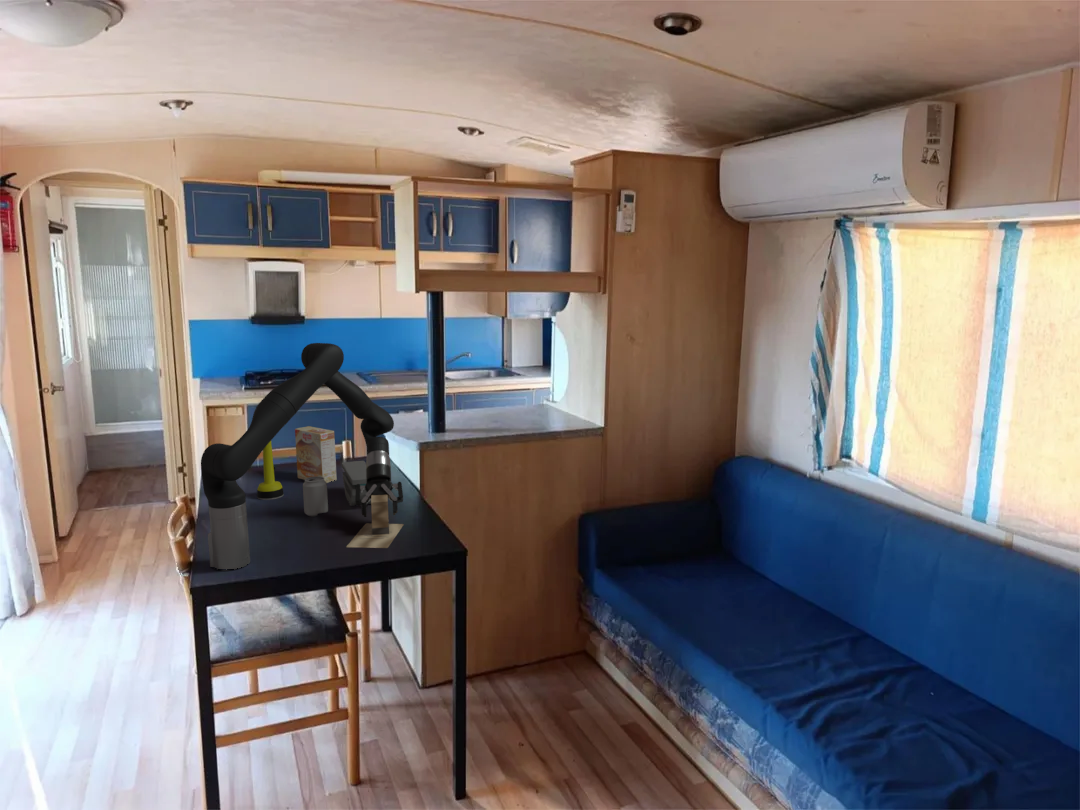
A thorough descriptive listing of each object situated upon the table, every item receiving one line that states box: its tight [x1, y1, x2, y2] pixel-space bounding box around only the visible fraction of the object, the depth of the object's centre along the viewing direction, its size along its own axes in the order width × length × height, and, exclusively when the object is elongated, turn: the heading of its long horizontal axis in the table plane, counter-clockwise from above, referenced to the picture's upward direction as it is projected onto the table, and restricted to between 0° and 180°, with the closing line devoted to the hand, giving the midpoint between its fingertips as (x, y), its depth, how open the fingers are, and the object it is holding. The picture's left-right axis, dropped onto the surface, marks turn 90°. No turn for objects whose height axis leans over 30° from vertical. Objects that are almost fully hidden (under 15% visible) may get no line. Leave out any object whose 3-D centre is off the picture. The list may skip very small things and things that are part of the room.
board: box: [345, 522, 405, 549], centre depth 218 cm, size 12×20×1 cm, turn 177°
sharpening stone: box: [341, 460, 371, 507], centre depth 254 cm, size 25×8×11 cm, turn 23°
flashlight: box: [256, 440, 285, 501], centre depth 258 cm, size 25×9×9 cm
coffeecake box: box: [294, 425, 338, 484], centre depth 279 cm, size 15×7×20 cm, turn 55°
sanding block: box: [370, 494, 390, 535], centre depth 222 cm, size 5×9×10 cm, turn 12°
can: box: [302, 476, 329, 517], centre depth 240 cm, size 8×8×12 cm
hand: (379, 514), depth 221 cm, fingers open, 8 cm apart
